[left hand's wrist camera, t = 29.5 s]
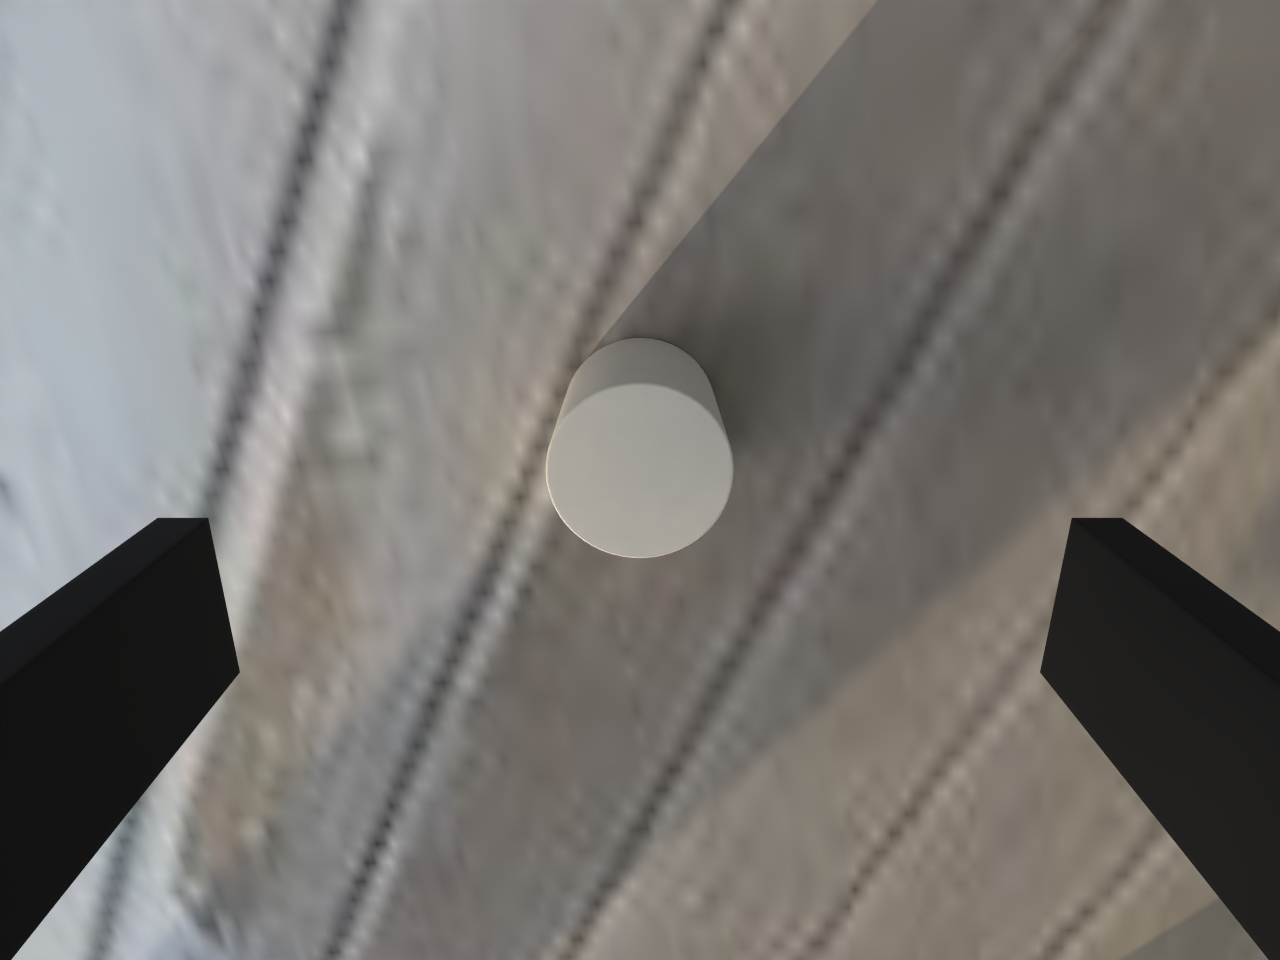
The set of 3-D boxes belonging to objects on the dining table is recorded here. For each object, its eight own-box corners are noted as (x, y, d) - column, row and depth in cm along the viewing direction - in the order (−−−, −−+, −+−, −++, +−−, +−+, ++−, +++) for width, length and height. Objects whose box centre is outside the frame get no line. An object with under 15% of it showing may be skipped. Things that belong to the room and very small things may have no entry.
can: (729, 351, 22) (752, 399, 17) (699, 493, 23) (713, 571, 19) (575, 325, 21) (558, 367, 17) (555, 470, 23) (534, 544, 18)
